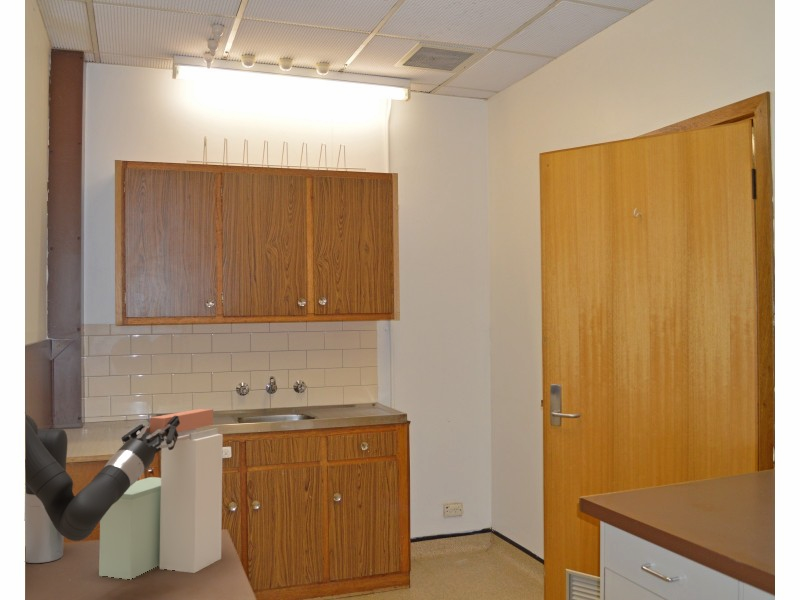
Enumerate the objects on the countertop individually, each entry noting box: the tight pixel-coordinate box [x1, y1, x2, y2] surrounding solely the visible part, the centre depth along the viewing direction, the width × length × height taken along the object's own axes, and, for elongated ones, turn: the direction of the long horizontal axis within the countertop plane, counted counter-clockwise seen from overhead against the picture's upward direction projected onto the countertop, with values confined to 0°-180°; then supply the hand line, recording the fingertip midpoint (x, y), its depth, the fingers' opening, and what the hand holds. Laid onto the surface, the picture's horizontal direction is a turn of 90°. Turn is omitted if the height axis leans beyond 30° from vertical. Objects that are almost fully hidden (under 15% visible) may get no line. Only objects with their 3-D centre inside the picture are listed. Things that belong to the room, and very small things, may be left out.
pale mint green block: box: [98, 476, 161, 581], centre depth 183 cm, size 10×20×20 cm, turn 162°
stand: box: [158, 427, 224, 574], centre depth 185 cm, size 10×12×34 cm
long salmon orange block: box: [149, 408, 214, 435], centre depth 182 cm, size 4×21×4 cm, turn 162°
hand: (169, 418), depth 176 cm, fingers closed on long salmon orange block, 4 cm apart
